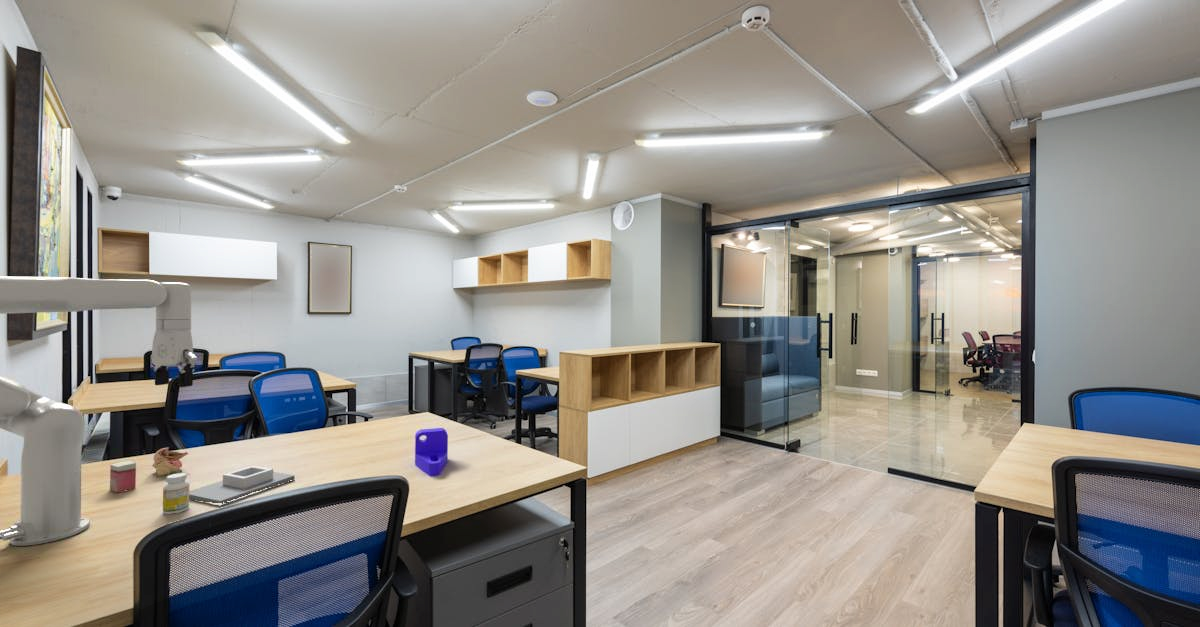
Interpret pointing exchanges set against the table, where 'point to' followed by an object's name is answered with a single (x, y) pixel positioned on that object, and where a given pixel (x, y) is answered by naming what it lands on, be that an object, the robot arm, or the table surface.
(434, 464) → the bracket
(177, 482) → the supplement bottle
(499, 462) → the table surface
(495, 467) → the table surface
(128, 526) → the table surface
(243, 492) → the socket holder
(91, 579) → the table surface
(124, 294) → the robot arm
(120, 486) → the small box
